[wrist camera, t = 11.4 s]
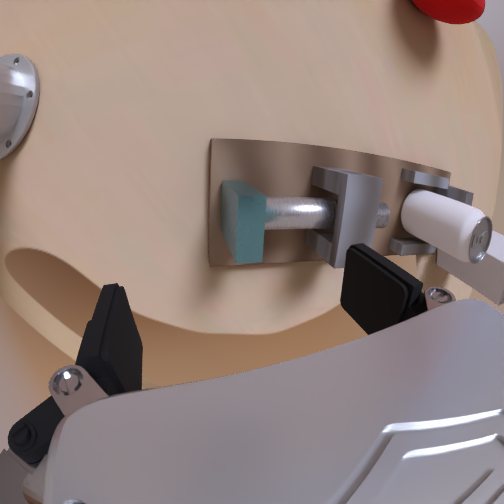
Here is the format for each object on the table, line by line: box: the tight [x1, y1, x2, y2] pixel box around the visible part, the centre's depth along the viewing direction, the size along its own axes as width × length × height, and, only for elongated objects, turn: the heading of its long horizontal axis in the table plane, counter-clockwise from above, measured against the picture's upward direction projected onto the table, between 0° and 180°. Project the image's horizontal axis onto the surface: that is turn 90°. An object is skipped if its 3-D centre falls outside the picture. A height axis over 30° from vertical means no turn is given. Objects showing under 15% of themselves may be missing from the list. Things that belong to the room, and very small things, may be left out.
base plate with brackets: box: [209, 139, 473, 268], centre depth 29 cm, size 35×13×8 cm, turn 87°
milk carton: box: [437, 230, 504, 305], centre depth 31 cm, size 7×7×19 cm
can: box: [401, 189, 492, 264], centre depth 28 cm, size 6×6×12 cm
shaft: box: [221, 180, 390, 264], centre depth 25 cm, size 17×5×8 cm, turn 87°
